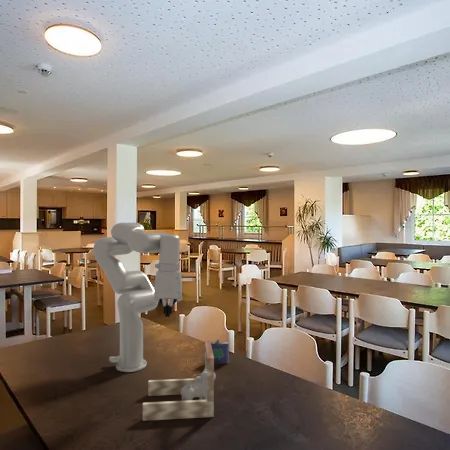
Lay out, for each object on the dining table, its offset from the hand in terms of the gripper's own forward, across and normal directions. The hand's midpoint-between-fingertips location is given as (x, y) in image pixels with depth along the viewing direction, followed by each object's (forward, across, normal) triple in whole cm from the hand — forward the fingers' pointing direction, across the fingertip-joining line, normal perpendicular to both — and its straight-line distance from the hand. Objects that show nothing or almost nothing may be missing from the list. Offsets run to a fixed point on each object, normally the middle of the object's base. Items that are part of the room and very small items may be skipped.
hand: (167, 315), depth 130 cm
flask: (+26, +20, +19) cm, 38 cm away
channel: (+26, +6, -15) cm, 30 cm away
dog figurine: (+26, +12, -14) cm, 32 cm away
